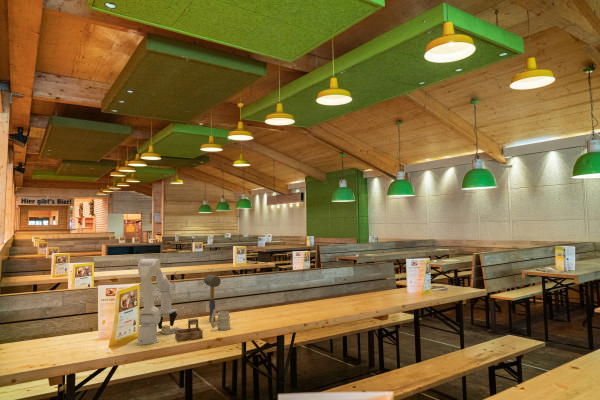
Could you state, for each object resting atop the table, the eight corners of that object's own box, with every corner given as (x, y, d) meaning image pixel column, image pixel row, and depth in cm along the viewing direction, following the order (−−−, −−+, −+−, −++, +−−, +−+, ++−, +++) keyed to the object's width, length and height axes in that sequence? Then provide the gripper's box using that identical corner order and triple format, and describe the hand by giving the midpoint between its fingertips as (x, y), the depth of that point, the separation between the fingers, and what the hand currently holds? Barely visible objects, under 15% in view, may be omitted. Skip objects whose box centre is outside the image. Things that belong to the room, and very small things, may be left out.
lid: (167, 336, 217) (167, 328, 217) (156, 333, 223) (156, 325, 223) (186, 331, 227) (186, 323, 228) (176, 328, 233) (176, 321, 234)
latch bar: (191, 324, 219) (191, 322, 219) (188, 321, 228) (188, 319, 228) (196, 324, 220) (196, 322, 220) (193, 320, 229) (193, 318, 229)
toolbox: (177, 341, 203) (177, 327, 204) (173, 334, 218) (173, 321, 218) (202, 338, 209) (202, 324, 210) (197, 331, 223) (197, 318, 224)
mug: (232, 329, 227) (231, 309, 228) (212, 332, 222) (212, 311, 223) (228, 326, 234) (228, 306, 235) (209, 329, 229) (209, 308, 230)
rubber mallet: (203, 320, 251) (203, 274, 254) (214, 319, 255) (214, 273, 258) (210, 324, 241) (210, 276, 243) (221, 322, 245) (221, 275, 248)
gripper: (159, 306, 216) (158, 330, 215) (180, 302, 227) (180, 325, 226) (151, 305, 220) (151, 329, 219) (173, 301, 232) (173, 324, 230)
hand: (165, 327), depth 223 cm, fingers open, 7 cm apart
